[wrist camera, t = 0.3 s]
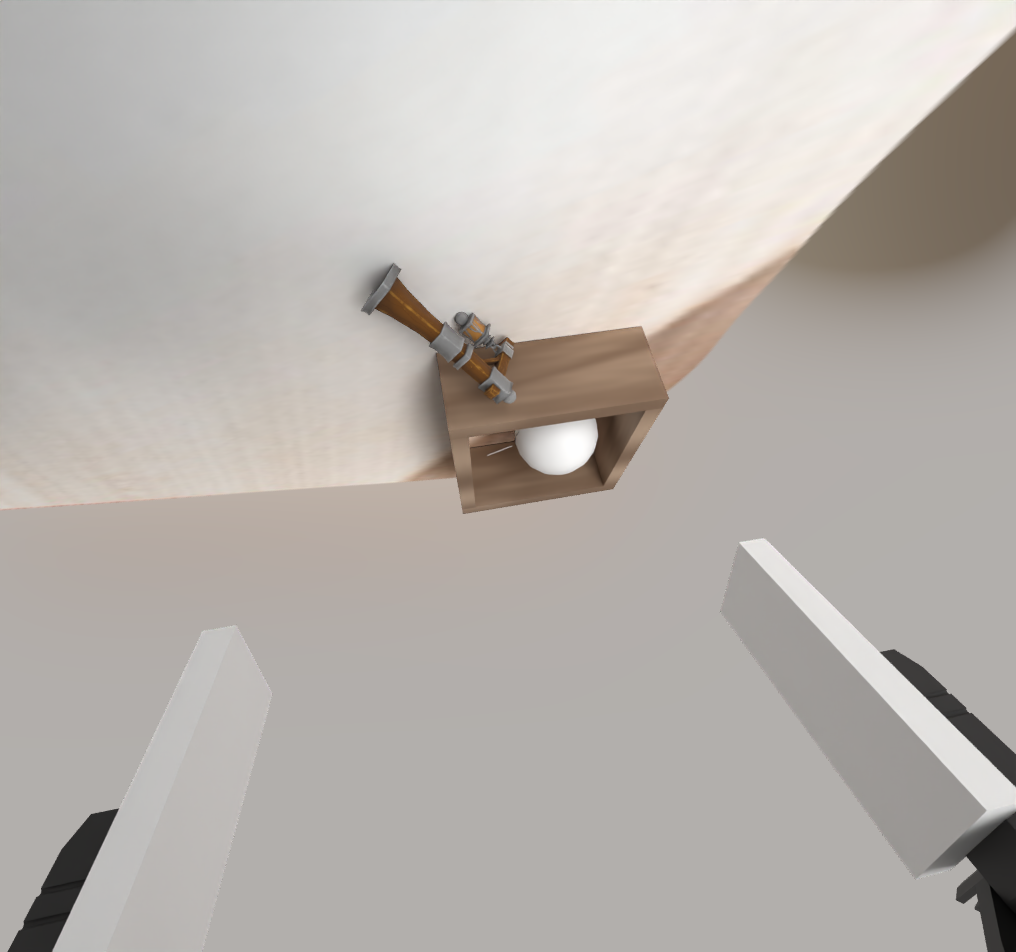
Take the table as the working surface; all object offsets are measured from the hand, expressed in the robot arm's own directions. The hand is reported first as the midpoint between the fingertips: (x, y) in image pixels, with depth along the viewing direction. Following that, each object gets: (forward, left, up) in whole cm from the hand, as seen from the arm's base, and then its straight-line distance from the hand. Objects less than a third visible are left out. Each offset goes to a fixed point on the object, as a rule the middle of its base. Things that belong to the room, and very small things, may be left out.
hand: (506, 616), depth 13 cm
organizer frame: (+15, +5, -16) cm, 22 cm away
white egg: (+15, +5, -16) cm, 22 cm away
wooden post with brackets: (+5, 0, -16) cm, 17 cm away
